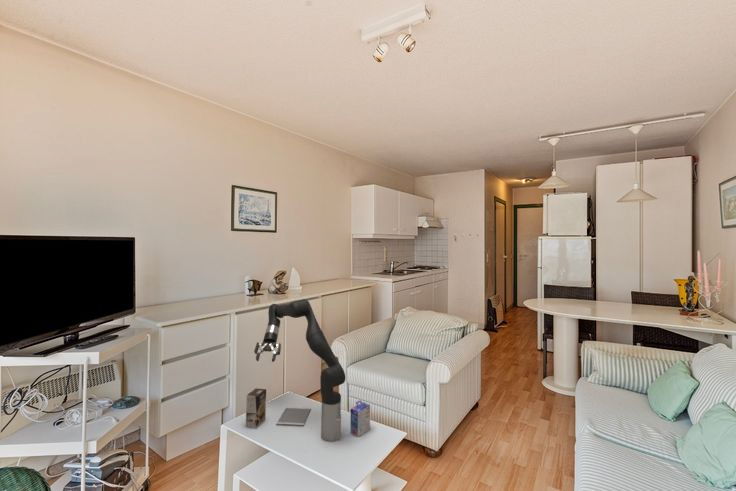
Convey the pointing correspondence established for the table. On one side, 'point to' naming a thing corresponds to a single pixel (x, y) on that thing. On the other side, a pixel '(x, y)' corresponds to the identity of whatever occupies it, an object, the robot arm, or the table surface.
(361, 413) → the ink cartridge box
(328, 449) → the table surface
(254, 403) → the coffee box
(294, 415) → the mat
